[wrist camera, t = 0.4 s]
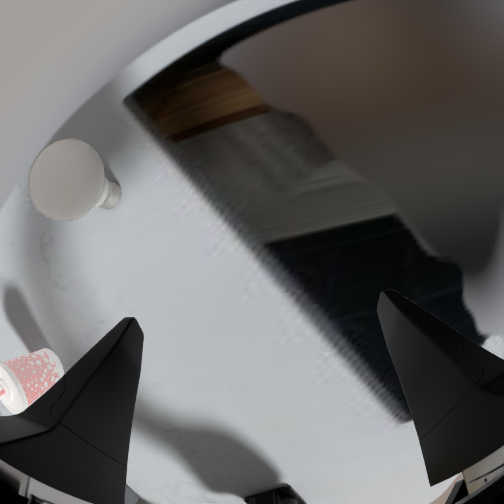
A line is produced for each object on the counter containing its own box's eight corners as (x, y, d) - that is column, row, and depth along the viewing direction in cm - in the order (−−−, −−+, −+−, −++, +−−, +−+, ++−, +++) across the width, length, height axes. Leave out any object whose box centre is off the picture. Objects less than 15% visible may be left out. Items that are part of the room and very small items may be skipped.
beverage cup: (42, 332, 24) (-41, 363, 10) (74, 368, 24) (-5, 419, 10) (31, 361, 24) (-39, 396, 10) (61, 395, 24) (-6, 443, 10)
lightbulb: (145, 166, 24) (84, 119, 13) (135, 231, 24) (63, 219, 13) (94, 167, 24) (26, 132, 13) (84, 226, 24) (8, 216, 13)
